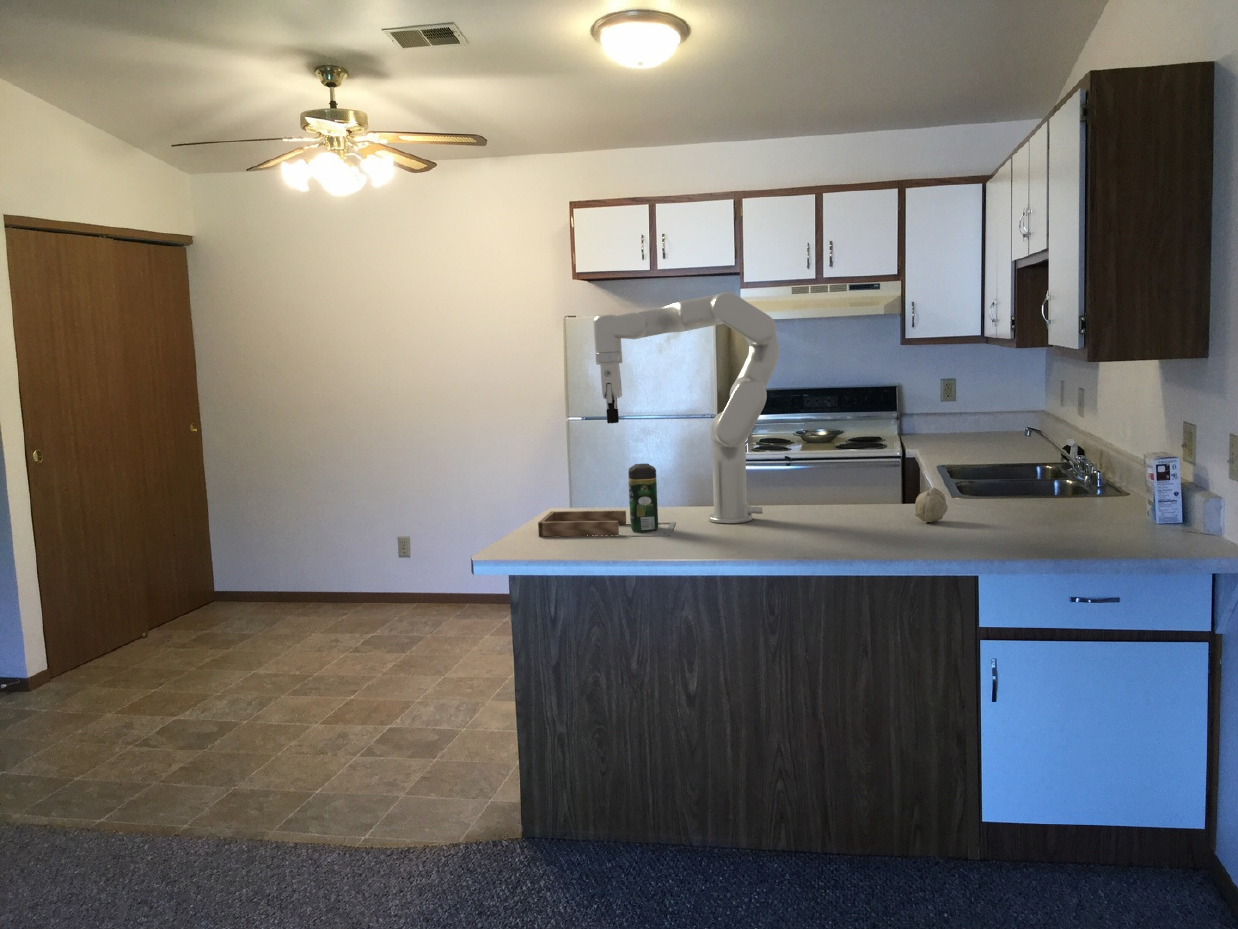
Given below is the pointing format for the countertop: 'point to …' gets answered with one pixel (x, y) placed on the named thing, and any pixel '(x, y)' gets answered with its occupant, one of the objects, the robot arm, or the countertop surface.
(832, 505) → the countertop surface
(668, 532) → the grey bay
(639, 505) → the coffee jar
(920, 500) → the garlic bulb
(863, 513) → the countertop surface
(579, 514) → the wooden u-shaped frame
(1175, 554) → the countertop surface
